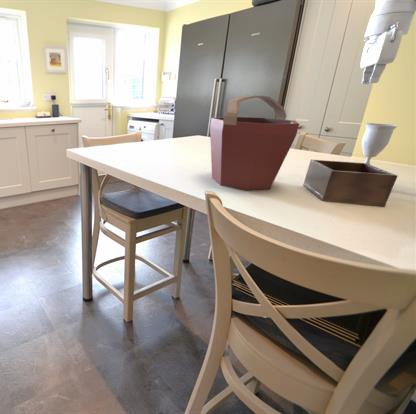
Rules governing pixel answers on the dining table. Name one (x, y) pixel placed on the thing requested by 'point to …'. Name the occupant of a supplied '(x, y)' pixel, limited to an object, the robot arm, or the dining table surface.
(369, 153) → the chalice
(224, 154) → the bucket
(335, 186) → the bin
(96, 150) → the dining table surface
